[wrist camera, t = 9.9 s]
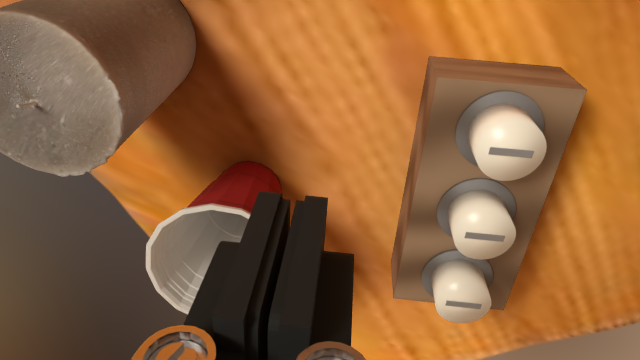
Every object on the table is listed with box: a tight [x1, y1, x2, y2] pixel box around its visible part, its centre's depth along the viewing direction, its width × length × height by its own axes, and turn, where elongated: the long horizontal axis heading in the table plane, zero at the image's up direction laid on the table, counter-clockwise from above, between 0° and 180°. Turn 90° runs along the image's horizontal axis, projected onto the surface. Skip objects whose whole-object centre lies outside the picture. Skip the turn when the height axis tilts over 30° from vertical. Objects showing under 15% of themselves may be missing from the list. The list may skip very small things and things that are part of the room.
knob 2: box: [468, 103, 547, 181], centre depth 31 cm, size 4×4×3 cm
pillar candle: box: [0, 0, 196, 177], centre depth 30 cm, size 10×10×15 cm
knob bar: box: [391, 56, 587, 310], centre depth 39 cm, size 21×10×5 cm, turn 177°
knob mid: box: [448, 189, 516, 260], centre depth 35 cm, size 4×4×3 cm
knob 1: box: [431, 259, 491, 323], centre depth 39 cm, size 4×4×3 cm
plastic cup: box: [146, 161, 282, 314], centre depth 38 cm, size 11×11×12 cm
